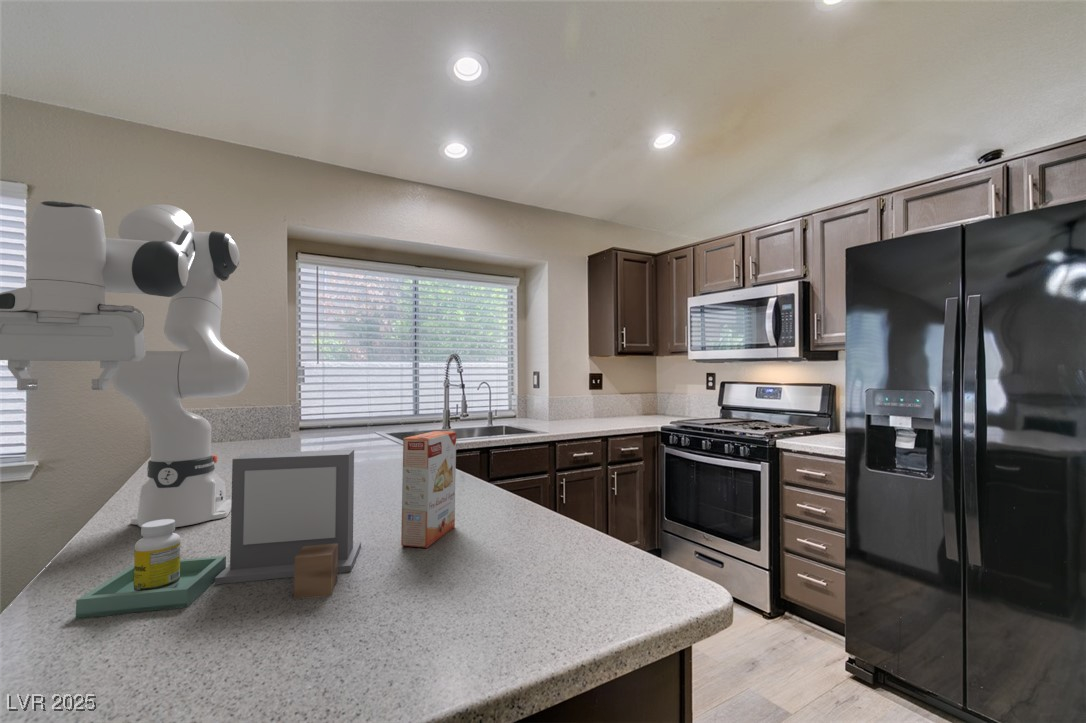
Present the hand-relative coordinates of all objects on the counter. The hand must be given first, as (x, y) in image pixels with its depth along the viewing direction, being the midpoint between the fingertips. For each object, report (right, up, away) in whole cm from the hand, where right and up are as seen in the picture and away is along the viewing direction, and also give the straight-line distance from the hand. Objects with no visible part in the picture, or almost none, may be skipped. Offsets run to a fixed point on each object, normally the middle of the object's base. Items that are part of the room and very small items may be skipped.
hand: (64, 390), depth 74 cm
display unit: (+33, -31, +7) cm, 45 cm away
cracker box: (+53, -32, +22) cm, 65 cm away
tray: (+18, -30, -3) cm, 35 cm away
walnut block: (+41, -30, -3) cm, 51 cm away
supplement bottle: (+17, -30, -3) cm, 35 cm away
